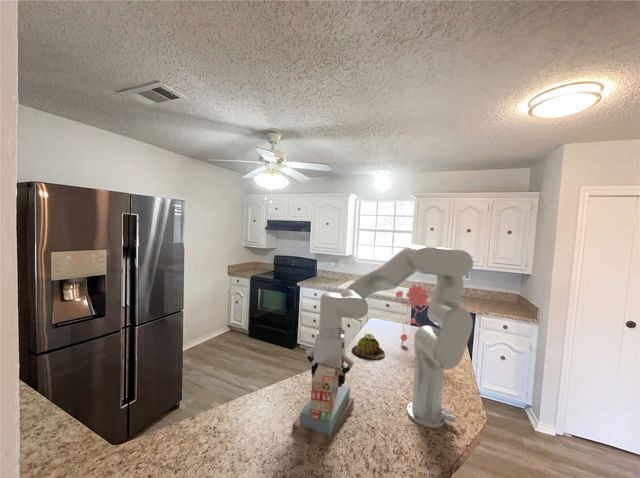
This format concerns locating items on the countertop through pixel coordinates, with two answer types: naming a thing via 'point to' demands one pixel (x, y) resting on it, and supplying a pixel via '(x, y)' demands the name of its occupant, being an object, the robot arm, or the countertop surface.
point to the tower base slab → (322, 437)
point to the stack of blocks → (323, 392)
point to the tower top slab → (326, 426)
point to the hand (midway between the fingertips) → (327, 380)
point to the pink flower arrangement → (414, 302)
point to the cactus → (368, 347)
